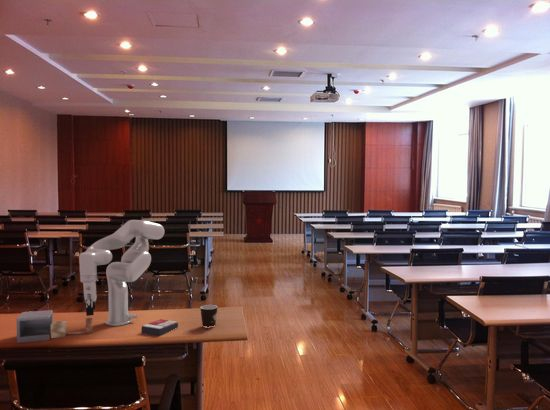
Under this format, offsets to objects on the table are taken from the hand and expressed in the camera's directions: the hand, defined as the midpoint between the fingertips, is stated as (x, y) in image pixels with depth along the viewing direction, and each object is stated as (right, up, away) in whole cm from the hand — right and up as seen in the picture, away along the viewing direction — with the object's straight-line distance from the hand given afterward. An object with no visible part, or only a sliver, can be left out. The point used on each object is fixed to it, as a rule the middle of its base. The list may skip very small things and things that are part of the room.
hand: (90, 312), depth 226 cm
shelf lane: (-22, -10, -7) cm, 26 cm away
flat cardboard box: (+33, -11, +4) cm, 34 cm away
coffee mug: (+57, -10, +11) cm, 59 cm away
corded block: (-8, -10, -3) cm, 13 cm away
